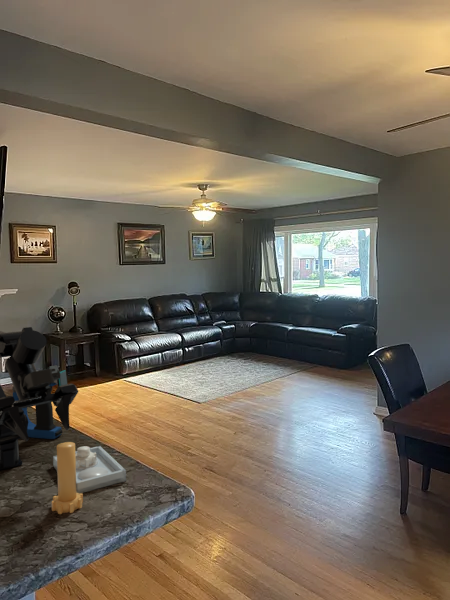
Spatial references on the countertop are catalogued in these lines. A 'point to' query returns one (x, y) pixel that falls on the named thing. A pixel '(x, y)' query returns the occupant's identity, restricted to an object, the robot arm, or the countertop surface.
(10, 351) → the robot arm
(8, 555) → the countertop surface
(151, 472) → the countertop surface
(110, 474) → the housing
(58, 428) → the handheld scanner
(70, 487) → the tan gear peg
